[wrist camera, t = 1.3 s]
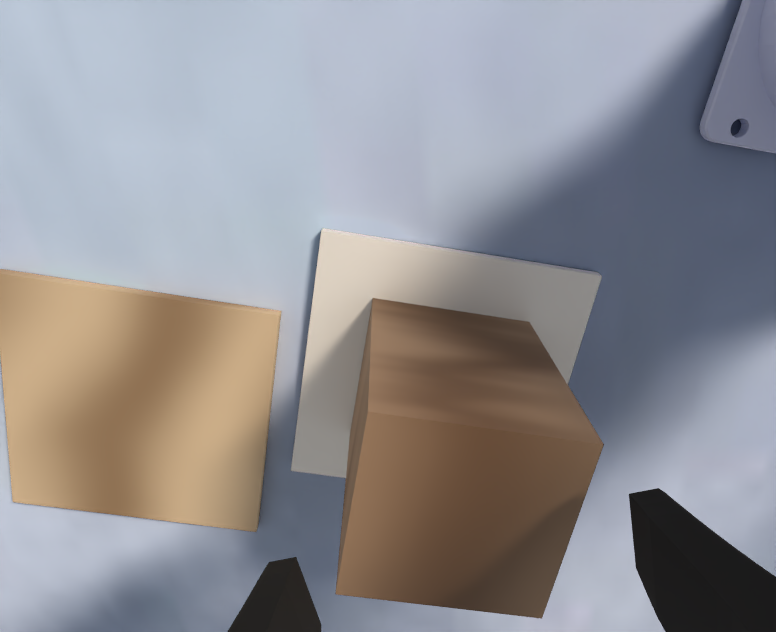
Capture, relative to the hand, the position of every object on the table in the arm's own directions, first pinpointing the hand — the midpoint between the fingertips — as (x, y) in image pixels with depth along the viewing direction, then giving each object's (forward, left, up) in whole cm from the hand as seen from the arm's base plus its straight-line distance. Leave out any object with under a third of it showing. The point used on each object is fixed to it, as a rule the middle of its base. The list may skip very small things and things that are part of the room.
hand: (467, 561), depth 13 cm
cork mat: (+10, +3, -9) cm, 13 cm away
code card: (0, 0, -9) cm, 9 cm away
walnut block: (0, 0, -8) cm, 8 cm away
